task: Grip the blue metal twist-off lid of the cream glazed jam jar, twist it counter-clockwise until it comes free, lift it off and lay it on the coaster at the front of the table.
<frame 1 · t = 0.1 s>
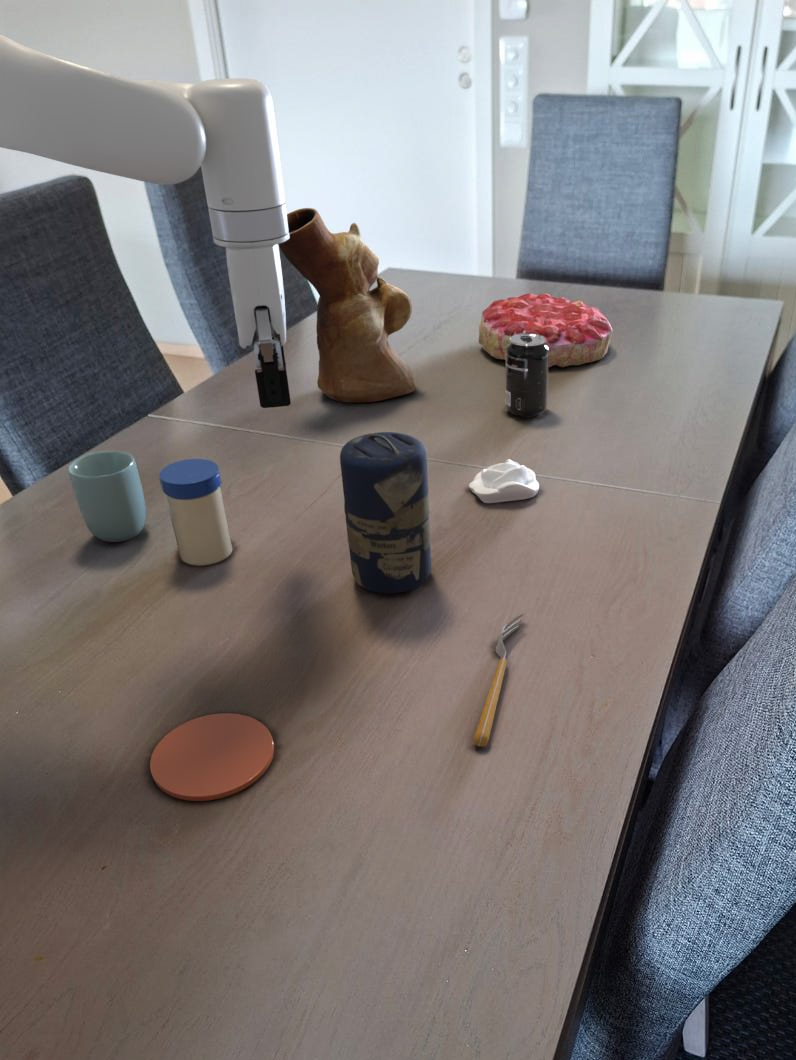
hand: (274, 389, 100), 21 cm above the table, tool pointing down, fingers open, 9 cm apart
jam lid: (189, 474, 106), point 11 cm above the table, screwed on, not yet turned
cake: (543, 349, 174), on the table
canister: (392, 579, 107), on the table
coaster: (213, 757, 83), on the table
ceramic vessel: (354, 395, 155), on the table
beverage can: (525, 412, 148), on the table
cup: (121, 535, 116), on the table
jam jar: (206, 552, 112), on the table
rose: (503, 492, 125), on the table
fork: (498, 684, 91), on the table
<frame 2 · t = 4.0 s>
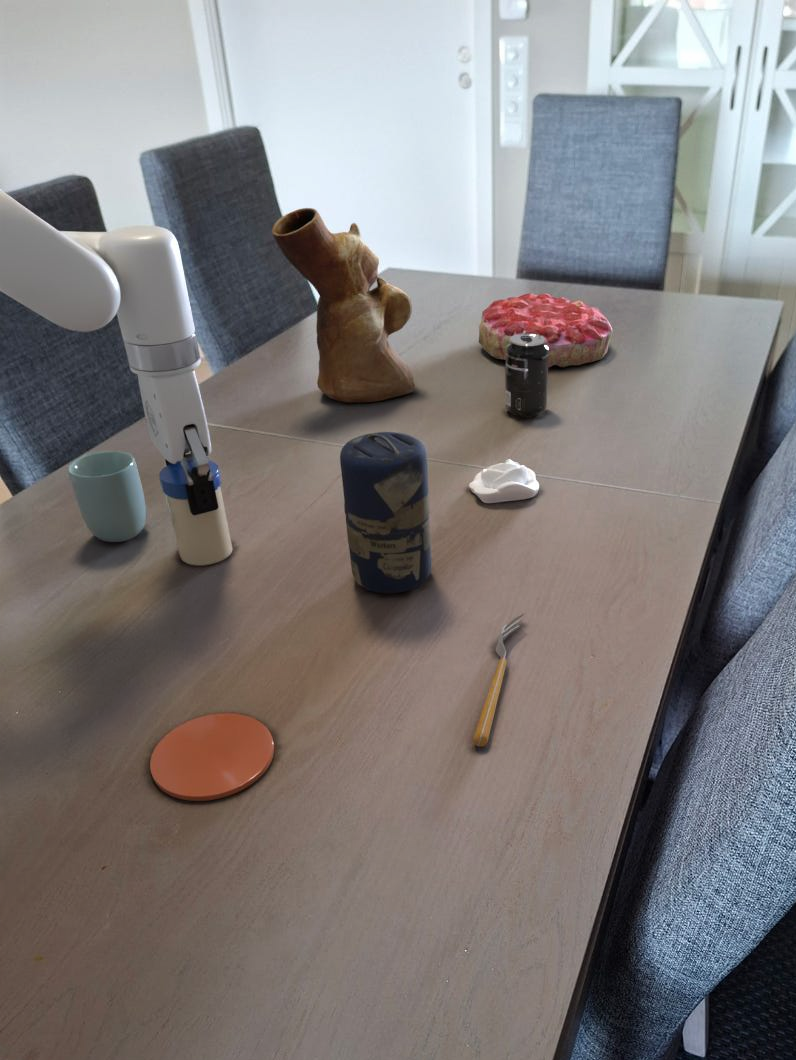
hand: (194, 497, 108), 8 cm above the table, tool pointing down, fingers closed on jam lid, 6 cm apart
jam lid: (189, 474, 106), point 11 cm above the table, screwed on, not yet turned, touching gripper
everything else where it was.
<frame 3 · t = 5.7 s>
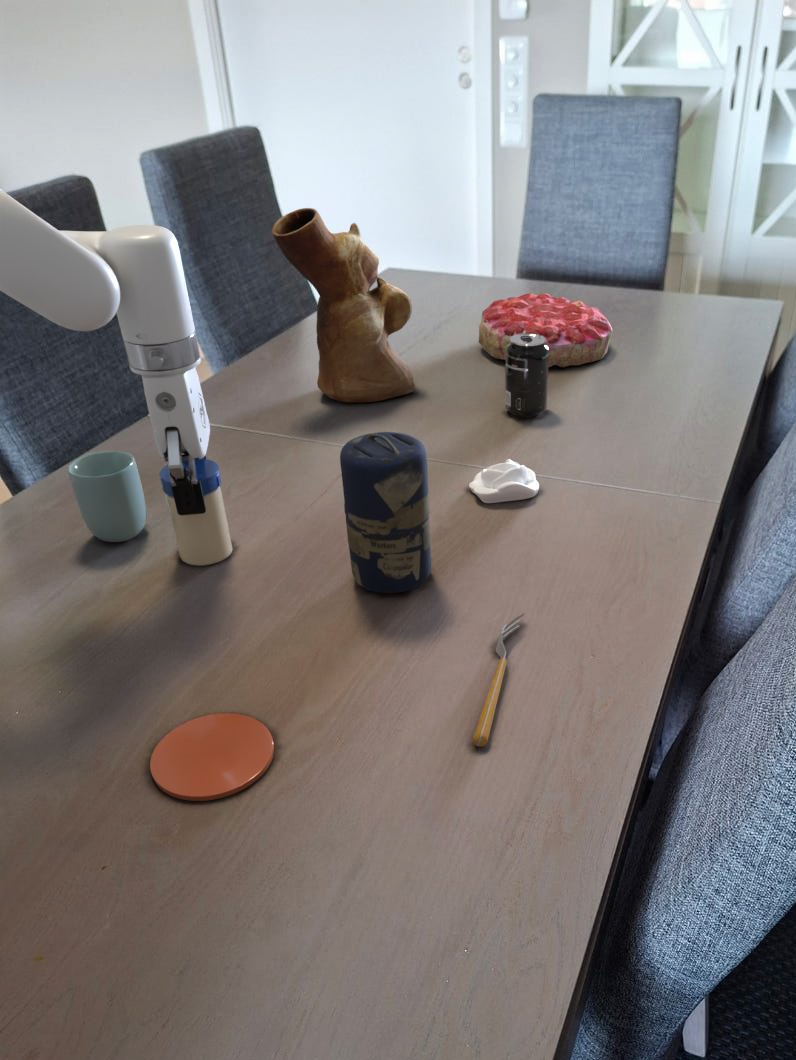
hand: (195, 497, 108), 8 cm above the table, tool pointing down, fingers closed on jam lid, 6 cm apart
jam lid: (189, 473, 106), point 11 cm above the table, off its thread, touching gripper
everything else where it was.
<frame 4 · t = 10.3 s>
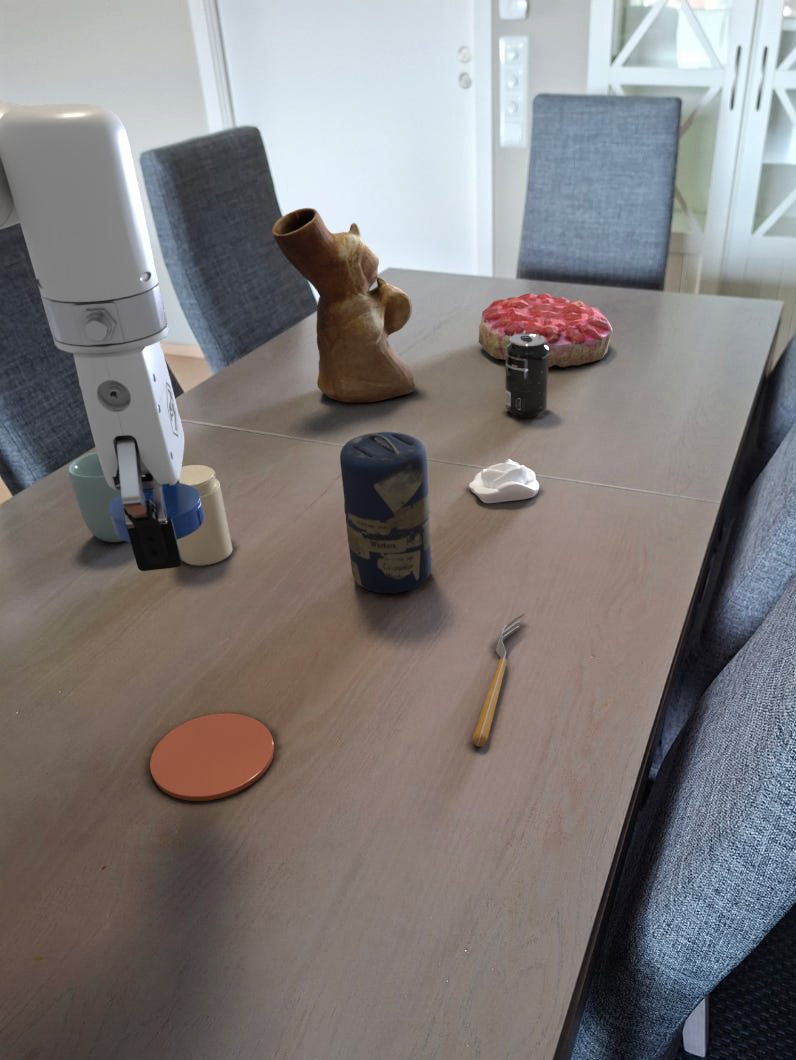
hand: (163, 541, 72), 22 cm above the table, tool pointing down, fingers closed on jam lid, 6 cm apart
jam lid: (155, 505, 70), point 25 cm above the table, off its thread, touching gripper
everything else where it was.
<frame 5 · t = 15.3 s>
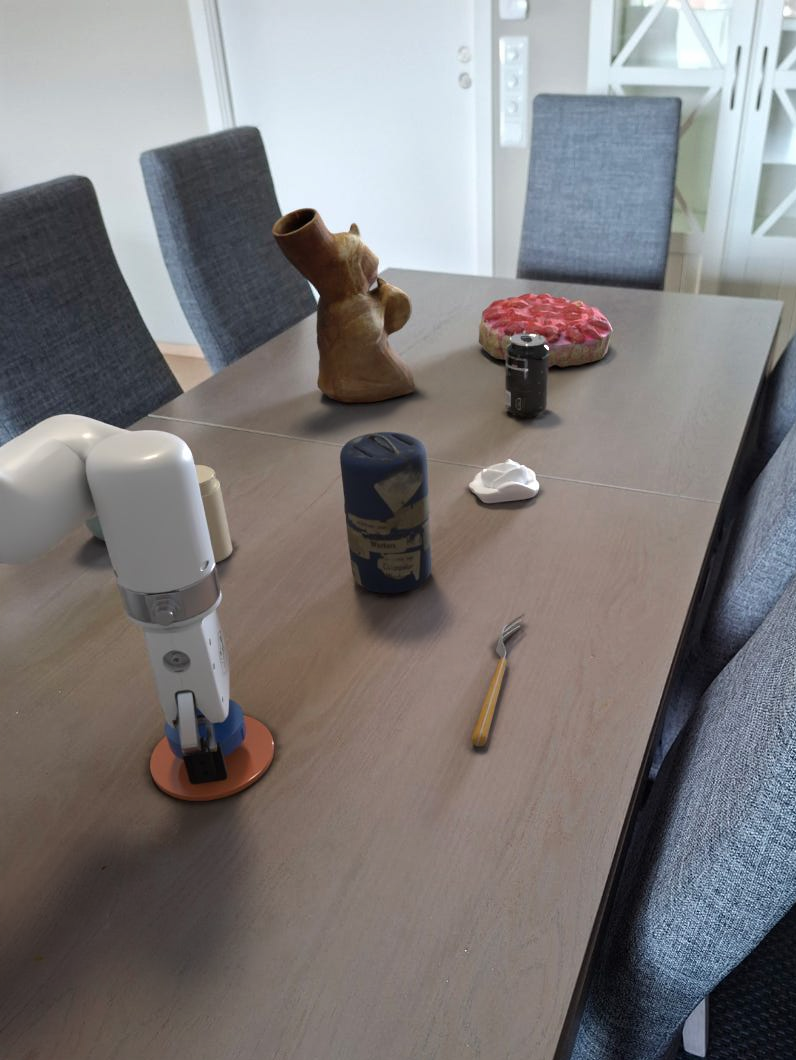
hand: (210, 749, 82), 1 cm above the table, tool pointing down, fingers closed on jam lid, 6 cm apart
jam lid: (204, 723, 80), point 4 cm above the table, off its thread, touching gripper
everything else where it was.
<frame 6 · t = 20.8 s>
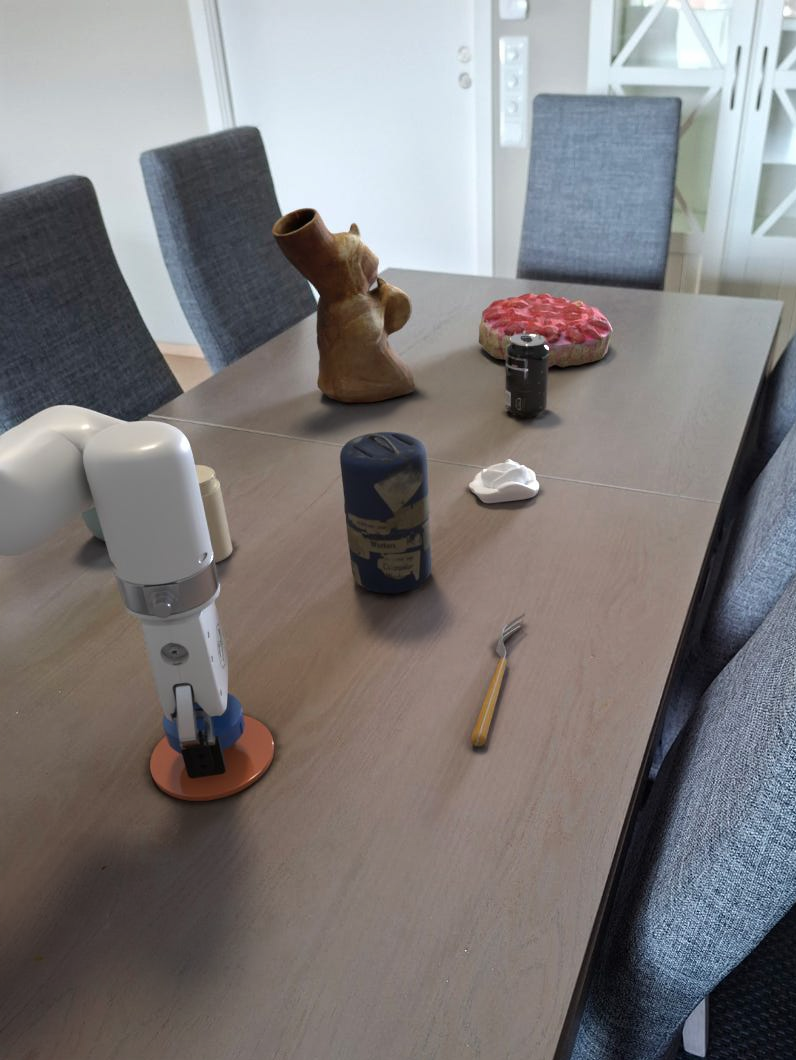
hand: (208, 743, 82), 2 cm above the table, tool pointing down, fingers closed on jam lid, 6 cm apart
jam lid: (203, 717, 80), point 5 cm above the table, off its thread, touching gripper
everything else where it was.
when the fingers open (2 cm above the table, at t = 26.2 s): jam lid drops 3 cm, resting on coaster.
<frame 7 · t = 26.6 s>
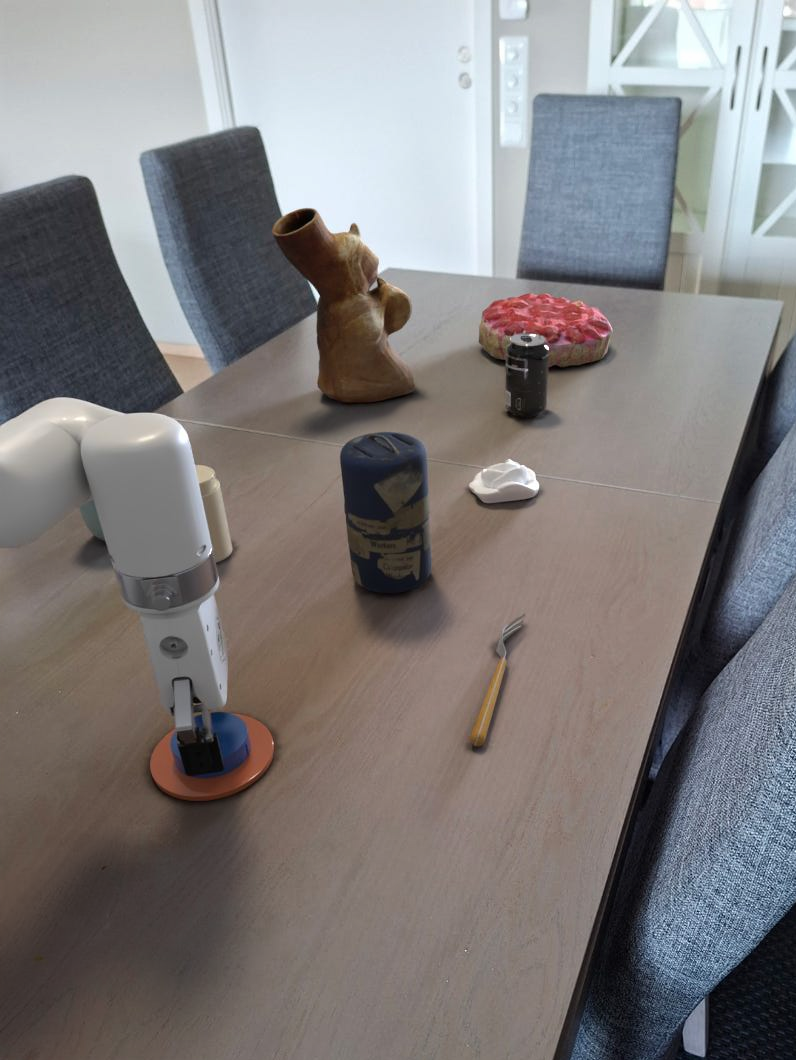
hand: (207, 734, 81), 3 cm above the table, tool pointing down, fingers open, 9 cm apart
jam lid: (209, 739, 81), point 2 cm above the table, off its thread, touching coaster
everything else where it was.
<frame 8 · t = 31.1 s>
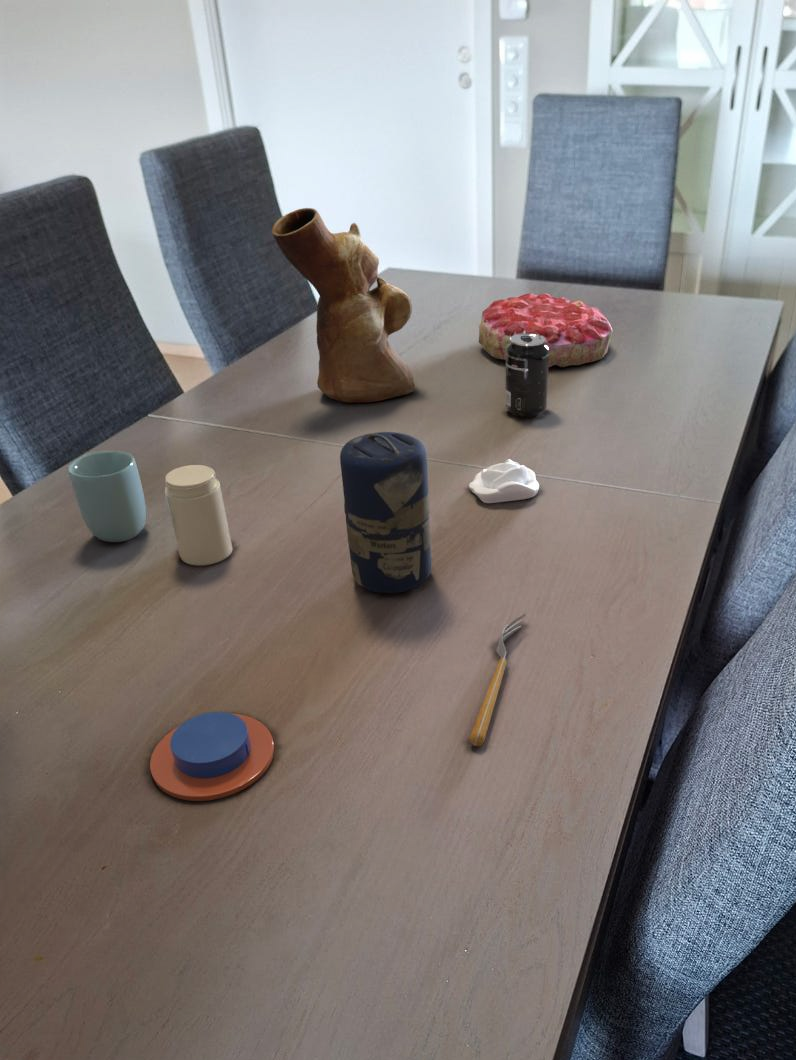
nothing on the table moved.
at the end: jam lid came off its thread; jam lid inside the target area on the coaster (0.1 cm from its centre), point 2.1 cm above the coaster's base; the gripper is holding nothing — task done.
